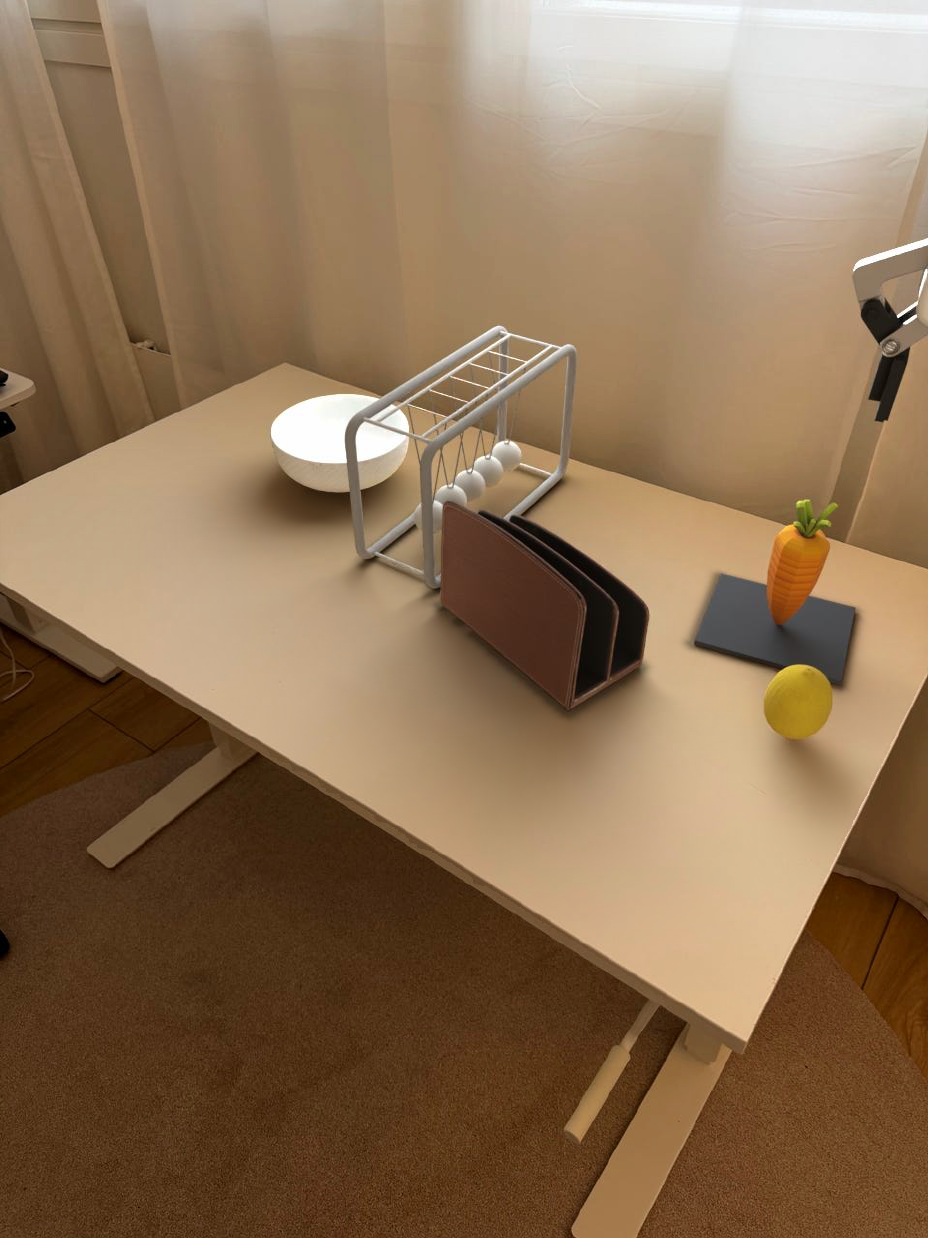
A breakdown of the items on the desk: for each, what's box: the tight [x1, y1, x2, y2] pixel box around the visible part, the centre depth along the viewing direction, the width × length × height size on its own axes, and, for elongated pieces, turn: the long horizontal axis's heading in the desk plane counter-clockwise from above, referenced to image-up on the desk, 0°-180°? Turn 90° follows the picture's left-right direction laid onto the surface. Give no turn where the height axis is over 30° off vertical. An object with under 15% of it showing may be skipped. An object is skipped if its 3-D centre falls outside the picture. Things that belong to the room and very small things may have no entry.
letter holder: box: [439, 501, 651, 712], centre depth 86 cm, size 10×20×14 cm, turn 38°
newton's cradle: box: [345, 325, 578, 589], centre depth 101 cm, size 30×10×18 cm, turn 146°
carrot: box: [766, 499, 839, 625], centre depth 86 cm, size 5×5×15 cm
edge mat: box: [694, 572, 856, 686], centre depth 91 cm, size 14×12×1 cm
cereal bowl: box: [270, 393, 410, 493], centre depth 111 cm, size 17×17×7 cm
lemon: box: [762, 665, 834, 740], centre depth 78 cm, size 6×6×8 cm
